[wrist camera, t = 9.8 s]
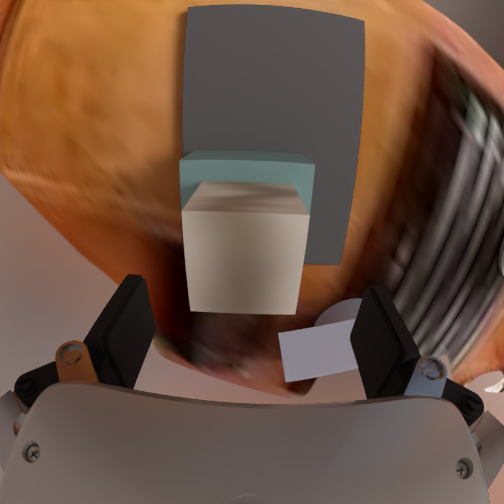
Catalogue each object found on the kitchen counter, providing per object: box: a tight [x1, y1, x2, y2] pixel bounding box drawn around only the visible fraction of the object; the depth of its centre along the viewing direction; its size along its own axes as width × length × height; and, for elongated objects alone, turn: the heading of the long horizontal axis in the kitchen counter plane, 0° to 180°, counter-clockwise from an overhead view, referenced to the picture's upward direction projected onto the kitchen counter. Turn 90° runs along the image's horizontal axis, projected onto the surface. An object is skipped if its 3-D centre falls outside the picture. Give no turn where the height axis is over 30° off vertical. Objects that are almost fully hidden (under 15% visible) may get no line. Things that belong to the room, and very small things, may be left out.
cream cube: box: [182, 181, 310, 315], centre depth 17 cm, size 6×6×6 cm
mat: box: [182, 4, 365, 265], centre depth 21 cm, size 15×24×1 cm, turn 178°
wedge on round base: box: [278, 298, 362, 382], centre depth 29 cm, size 9×7×13 cm
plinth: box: [179, 151, 315, 275], centre depth 22 cm, size 9×9×5 cm
